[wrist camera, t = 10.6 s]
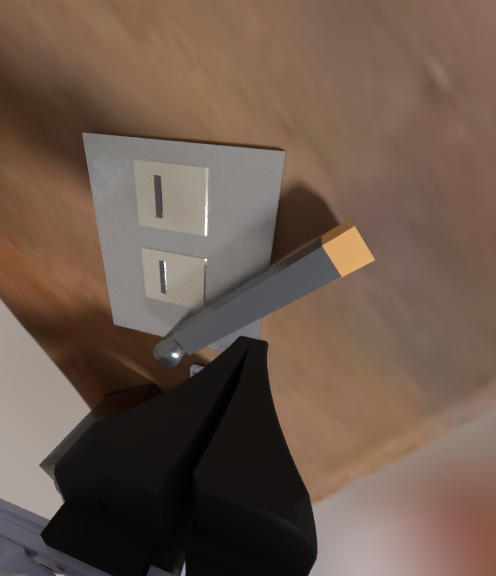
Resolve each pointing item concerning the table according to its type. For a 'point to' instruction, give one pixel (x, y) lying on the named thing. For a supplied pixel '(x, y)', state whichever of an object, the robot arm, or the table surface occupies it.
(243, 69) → the table surface
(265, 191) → the tray base
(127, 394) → the manual coffee grinder
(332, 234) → the swing arm
